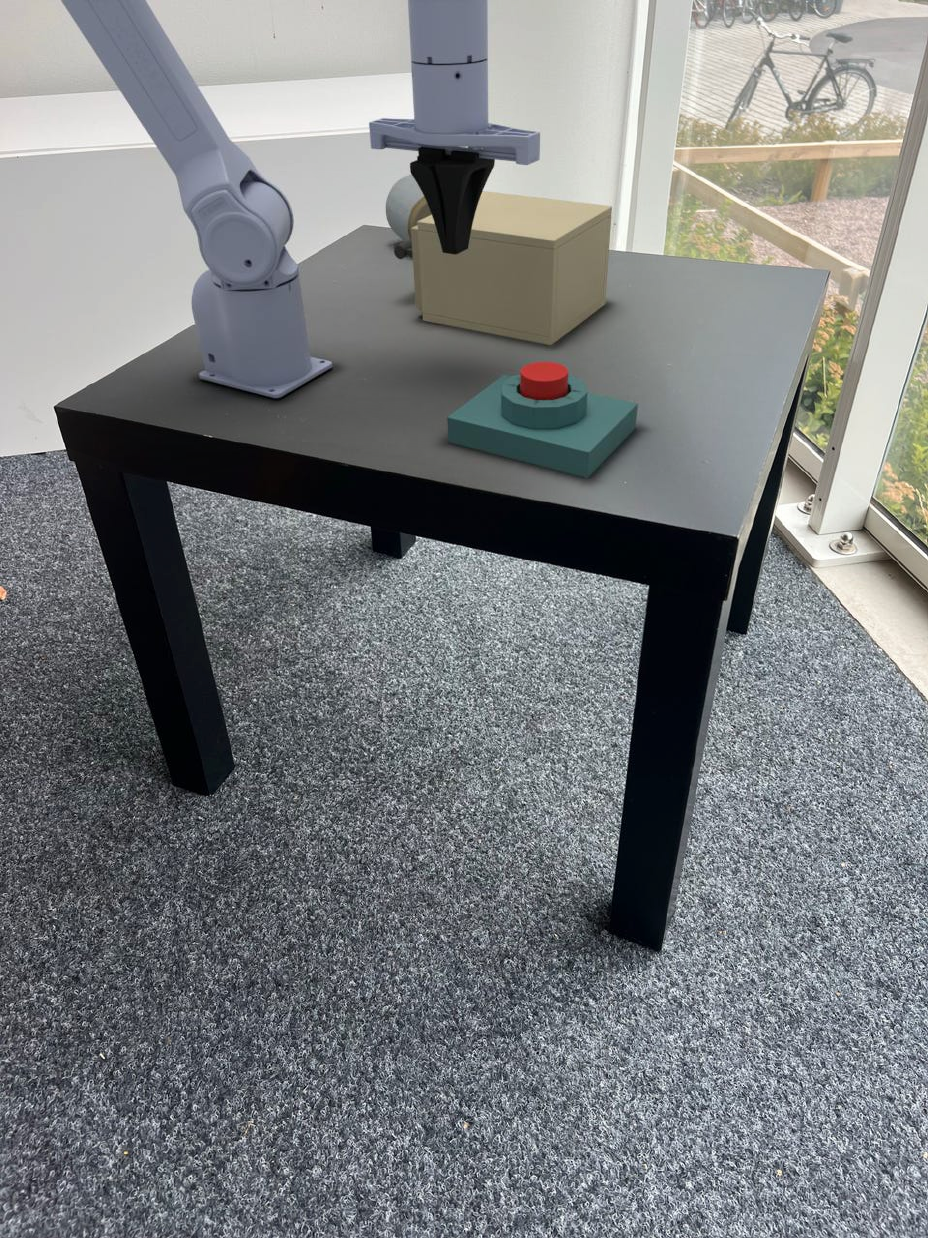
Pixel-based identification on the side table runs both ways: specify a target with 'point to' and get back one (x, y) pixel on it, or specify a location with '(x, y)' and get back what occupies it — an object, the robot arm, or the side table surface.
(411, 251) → the pulled-out drawer
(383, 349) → the side table surface
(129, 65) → the robot arm
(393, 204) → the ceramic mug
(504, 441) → the panel
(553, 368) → the button
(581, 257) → the tan drawer box
